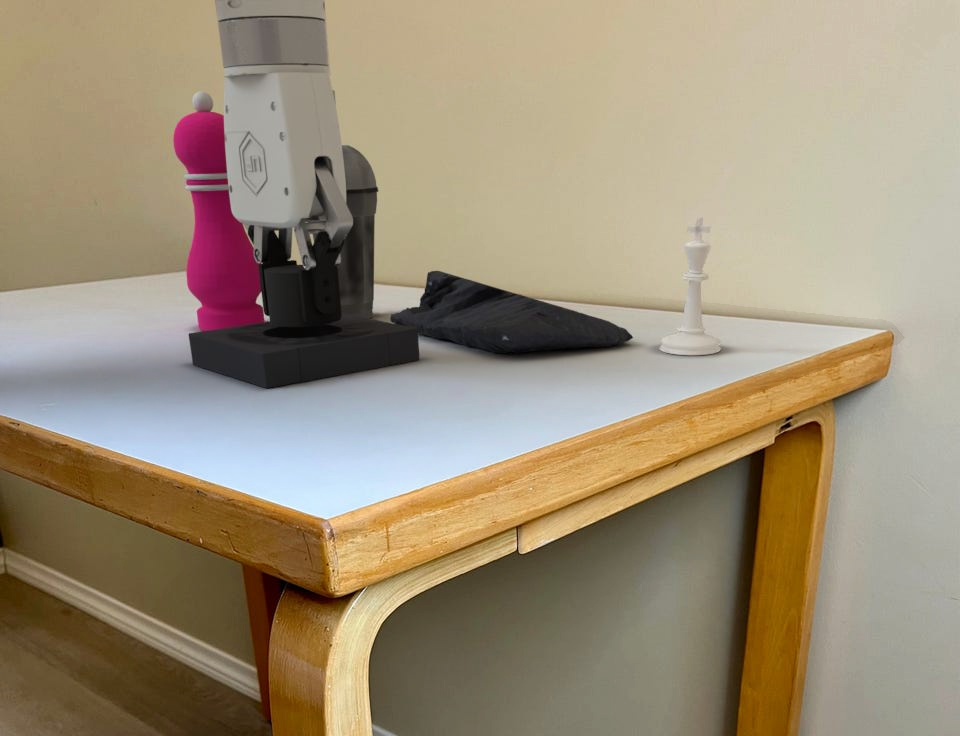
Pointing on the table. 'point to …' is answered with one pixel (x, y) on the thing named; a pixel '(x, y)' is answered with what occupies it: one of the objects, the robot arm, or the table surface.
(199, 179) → the pepper mill
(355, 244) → the beverage cup
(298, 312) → the dark gray cylinder
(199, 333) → the base pad
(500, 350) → the black fabric pouch
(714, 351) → the chess piece
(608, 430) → the table surface
